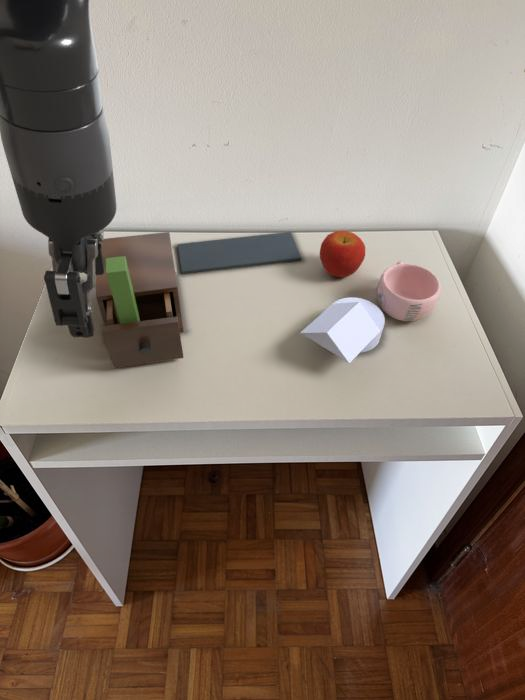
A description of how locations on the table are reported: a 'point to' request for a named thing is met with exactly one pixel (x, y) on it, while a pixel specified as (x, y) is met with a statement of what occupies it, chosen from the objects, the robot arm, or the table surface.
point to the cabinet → (142, 269)
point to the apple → (342, 253)
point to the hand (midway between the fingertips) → (88, 302)
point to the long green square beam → (122, 289)
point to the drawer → (143, 333)
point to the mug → (408, 291)
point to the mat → (237, 252)
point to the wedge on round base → (347, 327)
